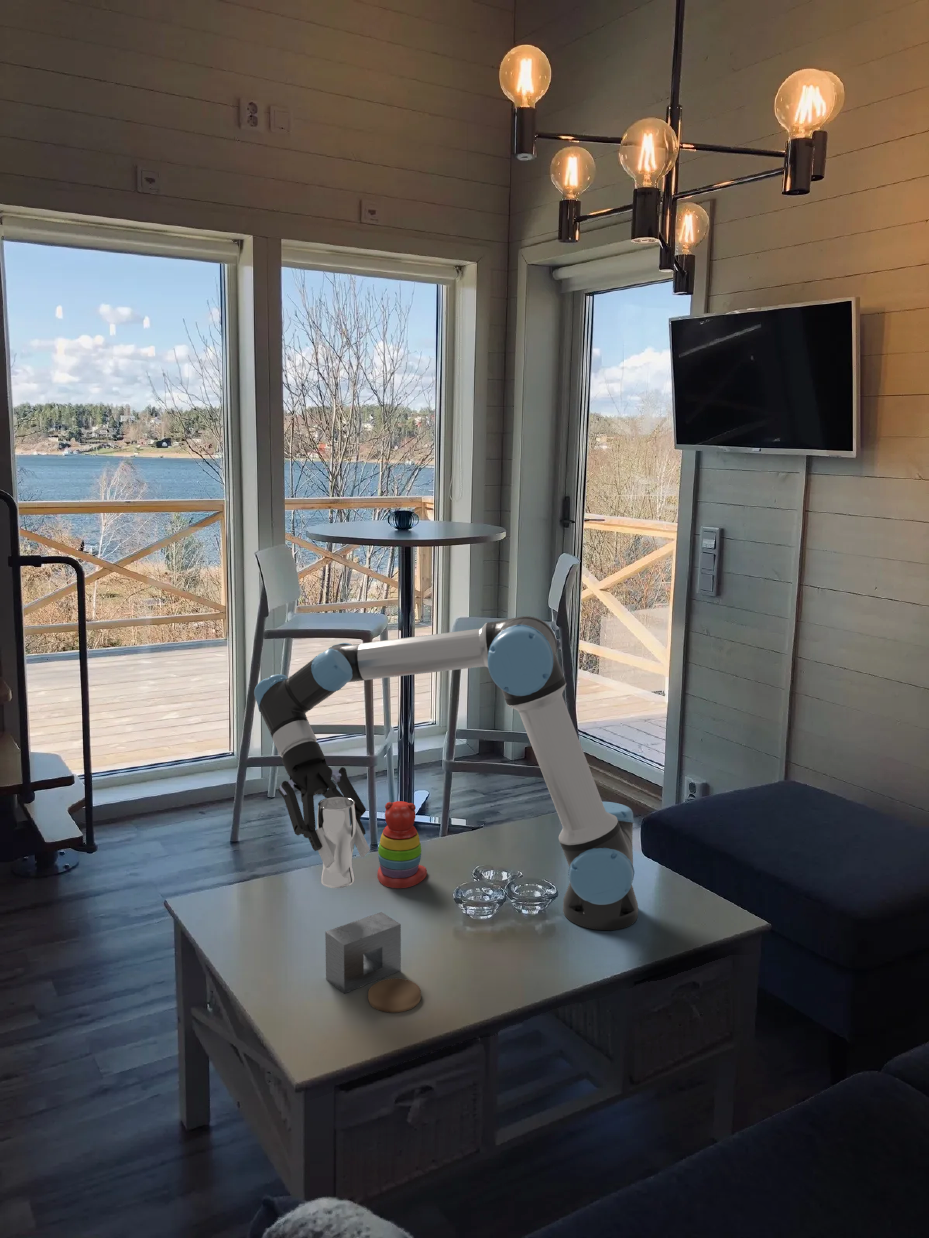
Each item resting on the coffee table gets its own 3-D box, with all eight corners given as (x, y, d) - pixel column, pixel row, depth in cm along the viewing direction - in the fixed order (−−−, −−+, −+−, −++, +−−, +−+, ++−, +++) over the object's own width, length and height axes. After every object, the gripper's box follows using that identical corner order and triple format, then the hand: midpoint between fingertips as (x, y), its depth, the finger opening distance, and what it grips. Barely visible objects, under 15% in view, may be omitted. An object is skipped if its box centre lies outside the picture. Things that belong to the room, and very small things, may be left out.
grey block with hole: (326, 978, 172) (325, 931, 171) (381, 957, 180) (381, 911, 178) (344, 993, 168) (343, 944, 166) (400, 970, 175) (400, 924, 174)
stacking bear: (428, 871, 217) (429, 795, 214) (419, 891, 207) (420, 811, 204) (381, 867, 218) (381, 792, 215) (370, 887, 208) (370, 808, 205)
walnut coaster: (424, 984, 171) (424, 979, 170) (416, 1014, 162) (416, 1008, 162) (373, 981, 171) (373, 976, 171) (363, 1010, 163) (363, 1005, 162)
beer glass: (315, 876, 179) (313, 798, 177) (351, 870, 182) (350, 794, 179) (323, 891, 173) (321, 811, 170) (361, 885, 175) (360, 806, 173)
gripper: (336, 750, 192) (384, 853, 182) (245, 770, 179) (292, 883, 170) (350, 730, 187) (401, 835, 177) (258, 749, 175) (307, 864, 165)
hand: (348, 858), depth 174 cm, fingers closed on beer glass, 7 cm apart
